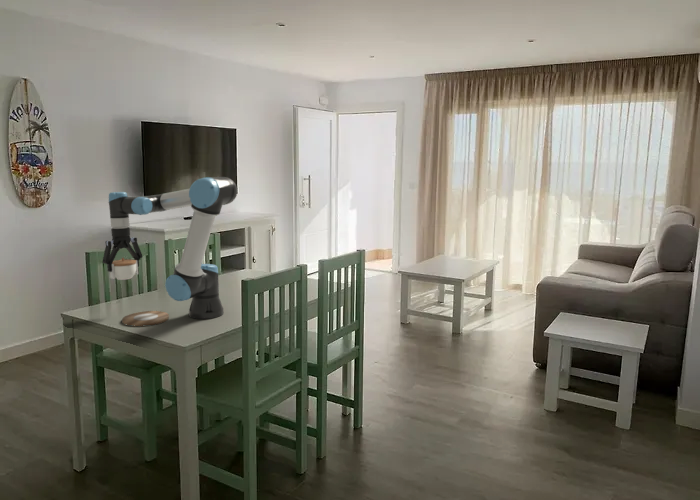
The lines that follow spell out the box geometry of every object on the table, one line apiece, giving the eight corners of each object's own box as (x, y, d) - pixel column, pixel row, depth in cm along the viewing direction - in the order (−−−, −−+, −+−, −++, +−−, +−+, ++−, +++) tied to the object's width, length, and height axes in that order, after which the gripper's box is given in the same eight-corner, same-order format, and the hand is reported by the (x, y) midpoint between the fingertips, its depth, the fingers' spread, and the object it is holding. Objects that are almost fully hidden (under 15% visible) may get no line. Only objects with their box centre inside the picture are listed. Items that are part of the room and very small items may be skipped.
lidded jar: (109, 281, 235) (107, 260, 234) (113, 276, 245) (111, 256, 244) (136, 280, 238) (134, 259, 236) (138, 275, 248) (137, 255, 246)
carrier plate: (177, 315, 242) (177, 313, 242) (149, 328, 224) (149, 325, 224) (142, 311, 248) (142, 309, 248) (112, 323, 230) (112, 320, 230)
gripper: (138, 224, 249) (142, 270, 253) (90, 229, 231) (95, 280, 234) (148, 225, 245) (152, 272, 249) (100, 230, 226) (104, 282, 230)
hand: (124, 276), depth 241 cm, fingers closed on lidded jar, 11 cm apart
